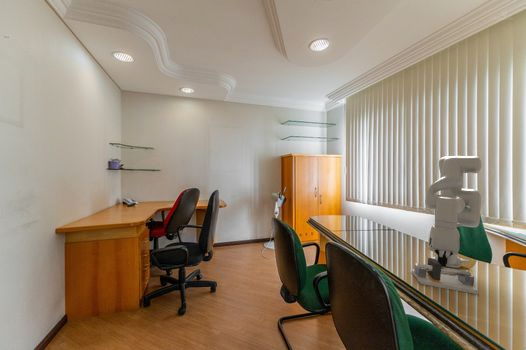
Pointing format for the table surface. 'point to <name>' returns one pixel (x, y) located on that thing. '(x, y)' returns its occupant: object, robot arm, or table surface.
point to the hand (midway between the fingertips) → (442, 265)
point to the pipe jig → (446, 278)
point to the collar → (434, 269)
